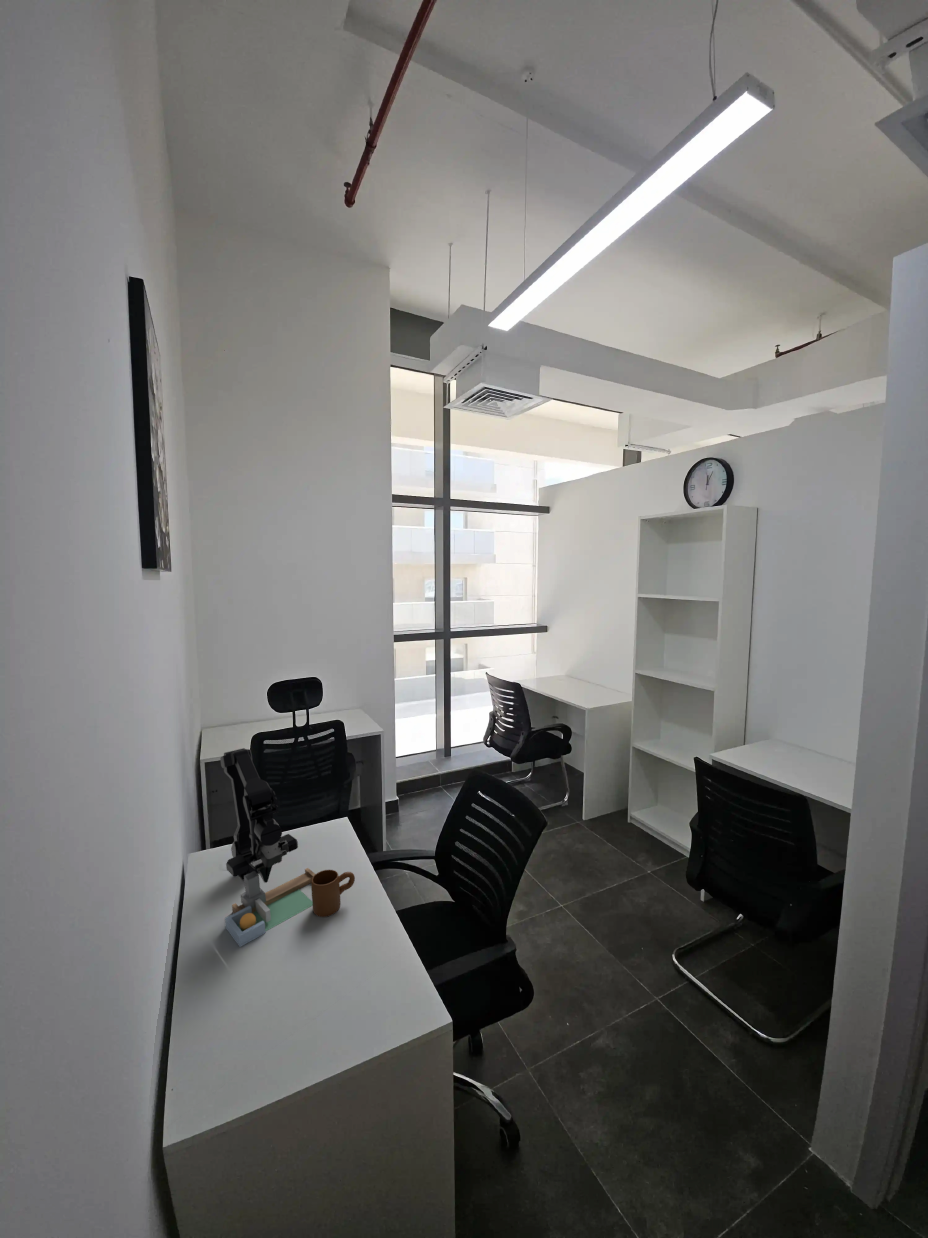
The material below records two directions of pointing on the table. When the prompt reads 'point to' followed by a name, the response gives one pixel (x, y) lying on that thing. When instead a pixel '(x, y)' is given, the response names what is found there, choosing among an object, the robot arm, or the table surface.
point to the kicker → (255, 896)
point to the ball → (247, 921)
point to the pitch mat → (284, 909)
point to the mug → (328, 891)
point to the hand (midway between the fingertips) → (265, 882)
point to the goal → (247, 934)
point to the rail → (282, 889)
